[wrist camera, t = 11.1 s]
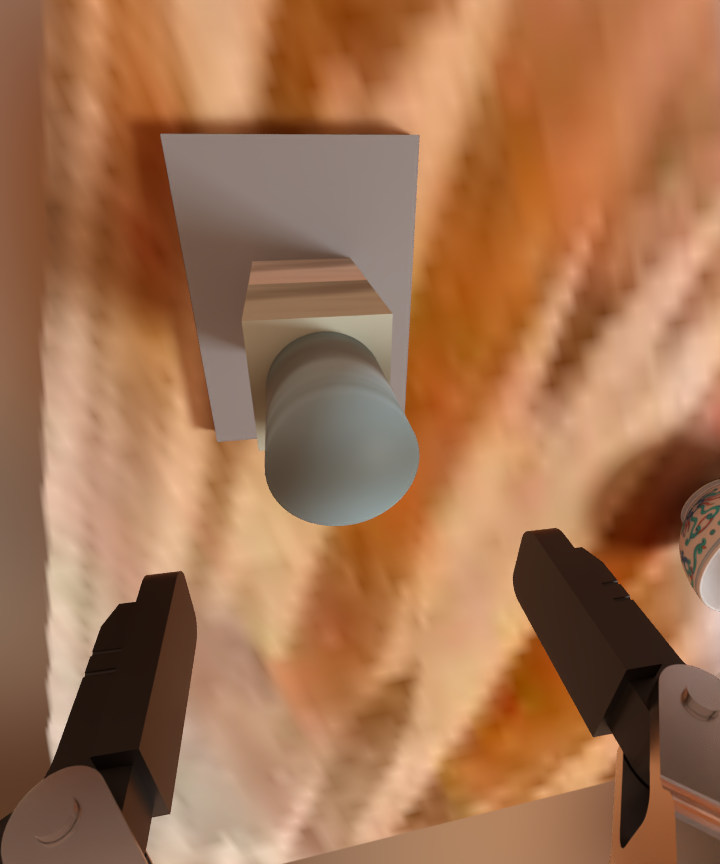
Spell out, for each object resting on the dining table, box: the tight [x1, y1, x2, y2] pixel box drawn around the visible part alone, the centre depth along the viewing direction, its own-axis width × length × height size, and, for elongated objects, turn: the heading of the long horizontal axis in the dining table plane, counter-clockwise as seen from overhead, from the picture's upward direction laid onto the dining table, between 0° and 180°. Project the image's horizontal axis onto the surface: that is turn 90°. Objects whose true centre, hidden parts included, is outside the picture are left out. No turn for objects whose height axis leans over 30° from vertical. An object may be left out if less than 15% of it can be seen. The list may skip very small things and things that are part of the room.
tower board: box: [160, 134, 420, 442], centre depth 31 cm, size 19×14×2 cm
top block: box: [242, 280, 393, 451], centre depth 23 cm, size 6×6×6 cm
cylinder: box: [265, 331, 419, 526], centre depth 18 cm, size 5×5×6 cm
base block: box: [248, 258, 367, 285], centre depth 28 cm, size 6×6×6 cm
